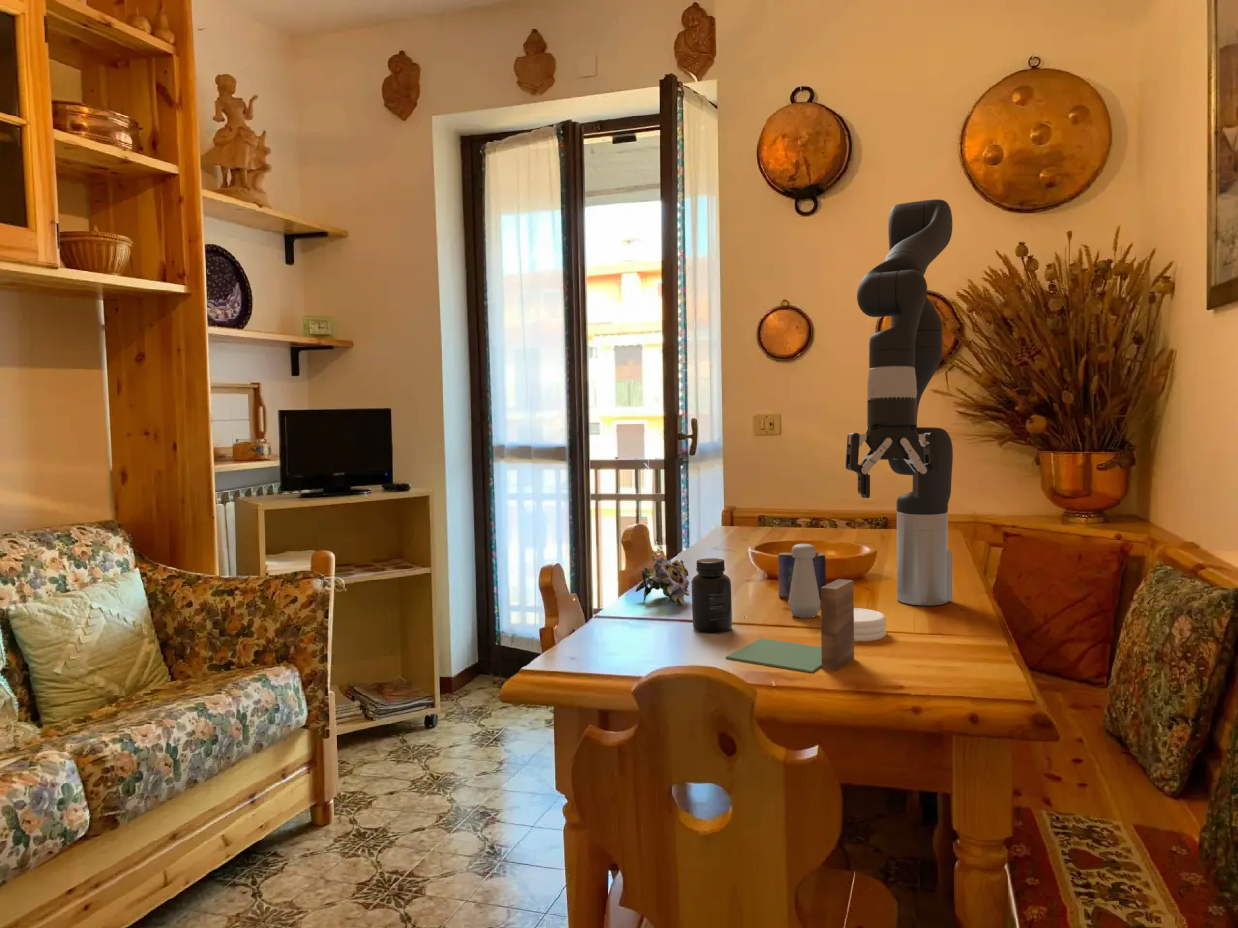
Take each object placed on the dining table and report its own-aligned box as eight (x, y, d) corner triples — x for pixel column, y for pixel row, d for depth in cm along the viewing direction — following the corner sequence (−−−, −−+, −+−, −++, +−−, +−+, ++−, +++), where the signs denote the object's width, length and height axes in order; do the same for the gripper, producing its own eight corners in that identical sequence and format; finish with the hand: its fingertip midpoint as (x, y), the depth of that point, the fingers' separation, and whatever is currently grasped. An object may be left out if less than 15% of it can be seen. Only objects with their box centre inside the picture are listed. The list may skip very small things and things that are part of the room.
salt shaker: (821, 619, 154) (820, 547, 153) (788, 619, 155) (787, 547, 154) (820, 611, 160) (819, 542, 159) (788, 611, 161) (787, 541, 160)
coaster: (849, 646, 138) (849, 624, 138) (812, 631, 147) (811, 611, 147) (899, 637, 142) (899, 616, 142) (859, 624, 151) (859, 604, 151)
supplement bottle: (735, 624, 152) (734, 557, 152) (727, 635, 146) (726, 564, 145) (697, 622, 155) (696, 556, 154) (688, 632, 148) (686, 563, 147)
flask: (777, 598, 171) (777, 545, 171) (780, 595, 174) (779, 542, 173) (825, 601, 168) (825, 546, 168) (827, 598, 171) (826, 544, 170)
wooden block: (854, 658, 131) (853, 580, 130) (836, 671, 125) (836, 589, 124) (838, 656, 132) (837, 578, 131) (820, 668, 127) (819, 587, 126)
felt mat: (842, 651, 134) (842, 650, 134) (812, 672, 125) (812, 670, 125) (760, 639, 142) (760, 637, 142) (725, 658, 133) (725, 656, 133)
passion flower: (680, 632, 169) (681, 591, 161) (627, 619, 172) (625, 578, 164) (695, 590, 177) (696, 549, 169) (644, 579, 180) (643, 538, 172)
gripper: (925, 398, 143) (925, 496, 144) (840, 398, 142) (840, 496, 143) (945, 395, 136) (944, 498, 136) (855, 395, 135) (855, 499, 135)
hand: (891, 497), depth 139 cm, fingers open, 8 cm apart
